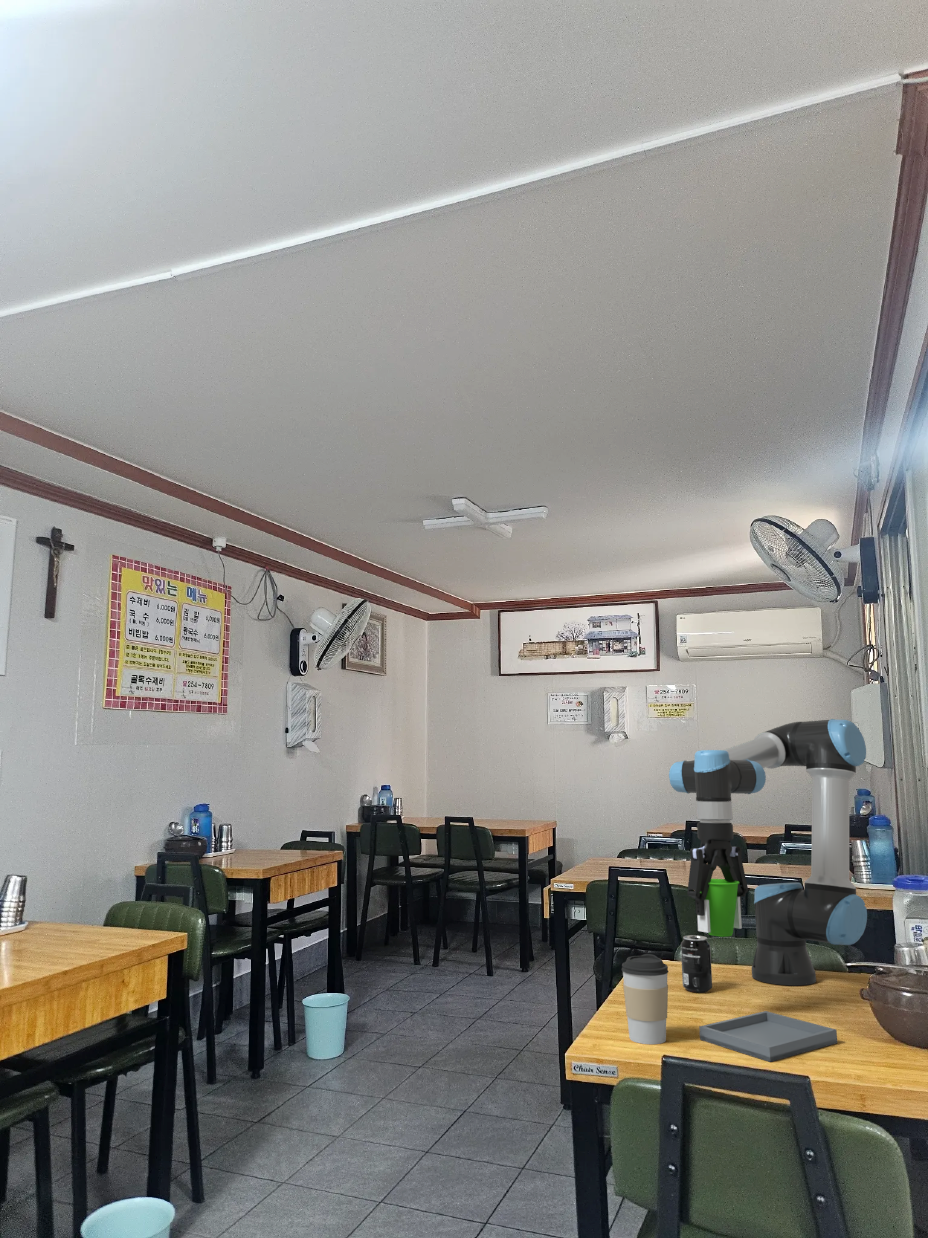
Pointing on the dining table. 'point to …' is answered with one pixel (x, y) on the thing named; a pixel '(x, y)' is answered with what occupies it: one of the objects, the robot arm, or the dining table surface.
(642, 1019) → the coffee cup
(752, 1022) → the tray
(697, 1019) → the dining table surface
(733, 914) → the cup
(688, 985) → the beverage can
